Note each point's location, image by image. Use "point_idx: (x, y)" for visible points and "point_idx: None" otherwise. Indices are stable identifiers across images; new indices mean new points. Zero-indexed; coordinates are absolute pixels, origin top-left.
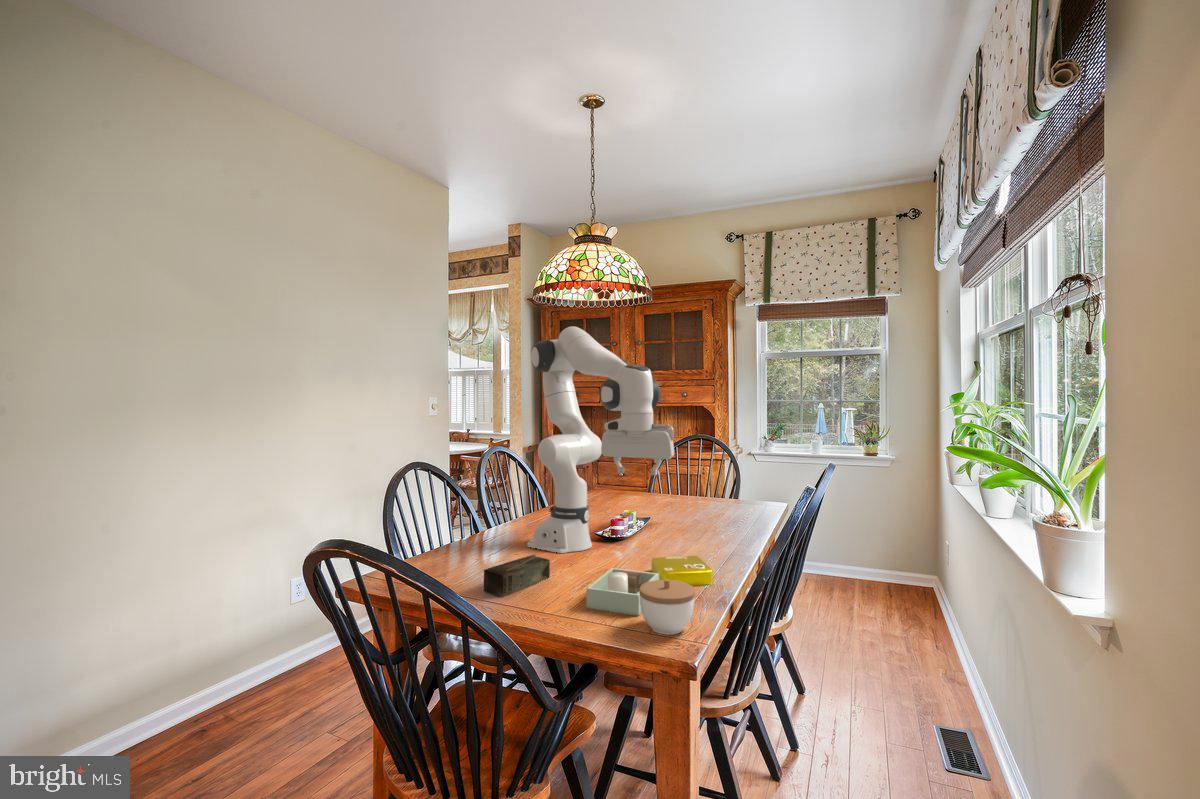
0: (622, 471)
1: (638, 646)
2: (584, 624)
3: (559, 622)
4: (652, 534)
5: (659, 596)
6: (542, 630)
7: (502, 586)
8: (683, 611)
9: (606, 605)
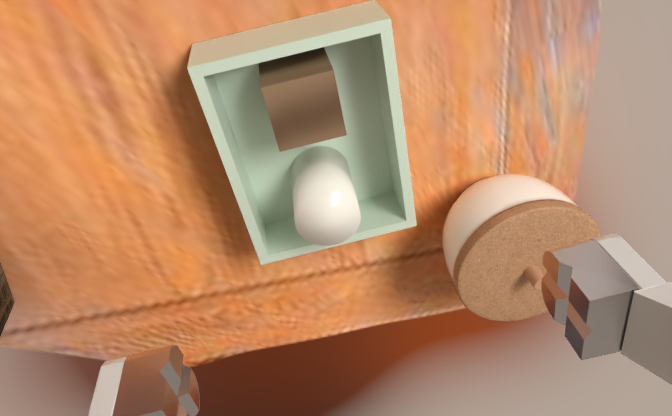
0: (197, 409)
1: None
2: (315, 289)
3: (262, 310)
4: None
5: (527, 315)
6: (261, 347)
7: (4, 323)
8: None
9: None
